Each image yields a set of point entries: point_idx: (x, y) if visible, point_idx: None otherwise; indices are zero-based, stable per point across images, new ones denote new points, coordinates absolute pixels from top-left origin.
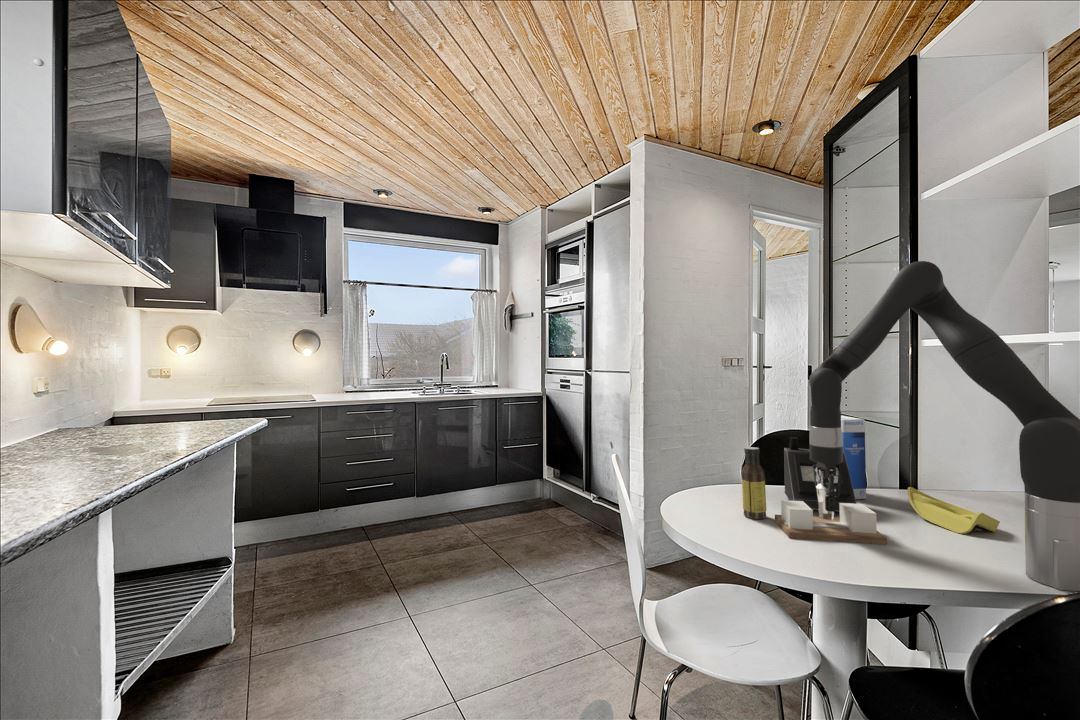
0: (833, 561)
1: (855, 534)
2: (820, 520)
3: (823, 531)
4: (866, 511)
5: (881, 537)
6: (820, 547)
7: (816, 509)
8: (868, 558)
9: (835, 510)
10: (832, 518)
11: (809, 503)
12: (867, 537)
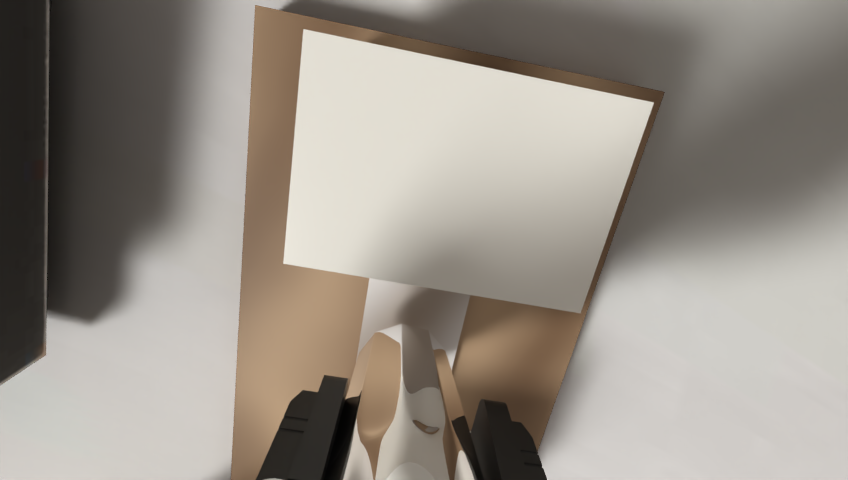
0: (765, 463)
1: None
2: (317, 325)
3: (510, 398)
4: (575, 163)
5: (648, 123)
6: (621, 443)
7: (46, 225)
8: (781, 317)
9: (44, 96)
10: (438, 344)
11: (5, 284)
12: (621, 208)
